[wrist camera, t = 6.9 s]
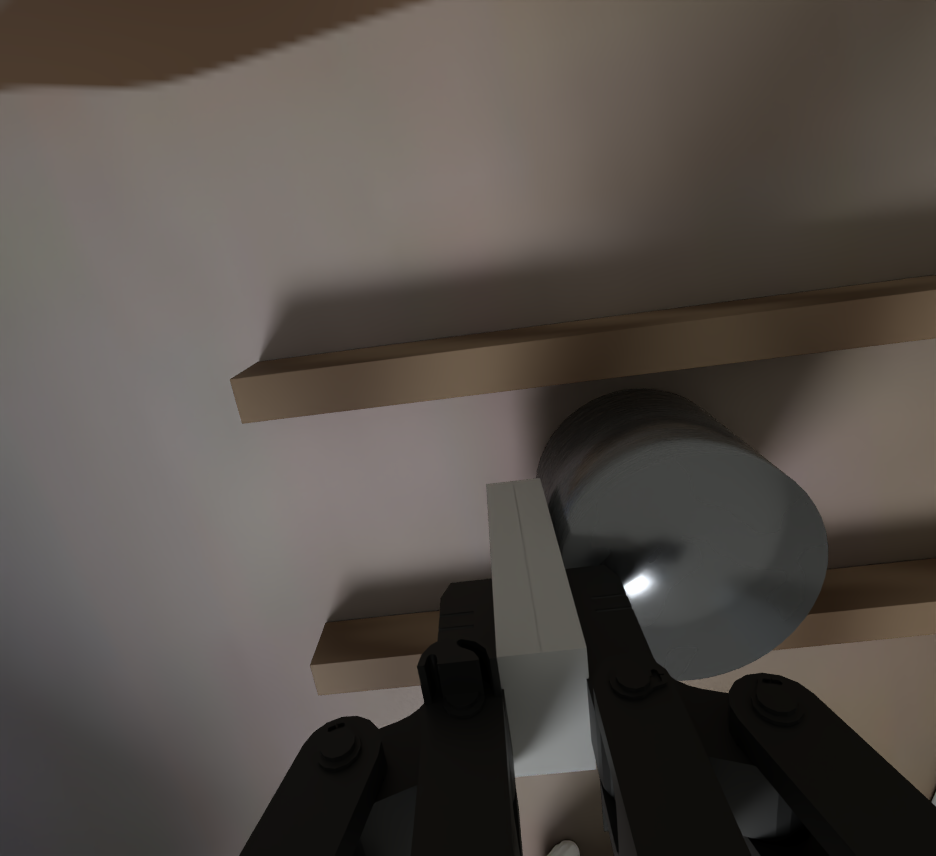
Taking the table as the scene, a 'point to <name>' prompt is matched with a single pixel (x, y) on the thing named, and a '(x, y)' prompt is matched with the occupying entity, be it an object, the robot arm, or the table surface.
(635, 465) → the cylinder
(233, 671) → the table surface
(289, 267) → the table surface
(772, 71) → the table surface
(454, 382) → the guide rails
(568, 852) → the white figurine
